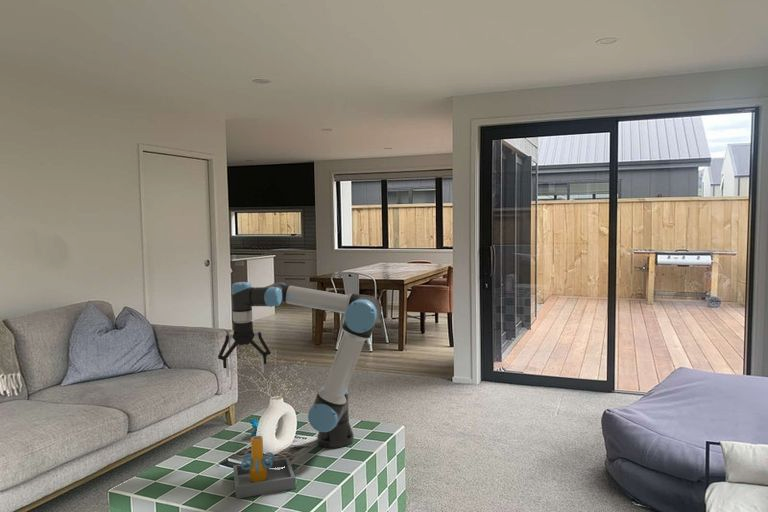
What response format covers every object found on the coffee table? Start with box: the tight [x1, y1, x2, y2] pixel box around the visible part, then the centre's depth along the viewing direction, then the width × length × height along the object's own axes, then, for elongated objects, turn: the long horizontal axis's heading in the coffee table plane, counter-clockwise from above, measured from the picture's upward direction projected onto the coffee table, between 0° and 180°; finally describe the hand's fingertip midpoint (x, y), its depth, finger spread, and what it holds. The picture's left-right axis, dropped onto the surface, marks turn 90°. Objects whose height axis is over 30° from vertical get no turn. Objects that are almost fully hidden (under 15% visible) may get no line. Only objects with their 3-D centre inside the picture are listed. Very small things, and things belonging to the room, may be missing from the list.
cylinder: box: [241, 435, 275, 482], centre depth 208 cm, size 12×10×15 cm
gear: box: [249, 418, 260, 438], centre depth 252 cm, size 11×6×10 cm
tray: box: [232, 457, 297, 499], centre depth 208 cm, size 20×18×4 cm
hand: (245, 374), depth 233 cm, fingers open, 13 cm apart
